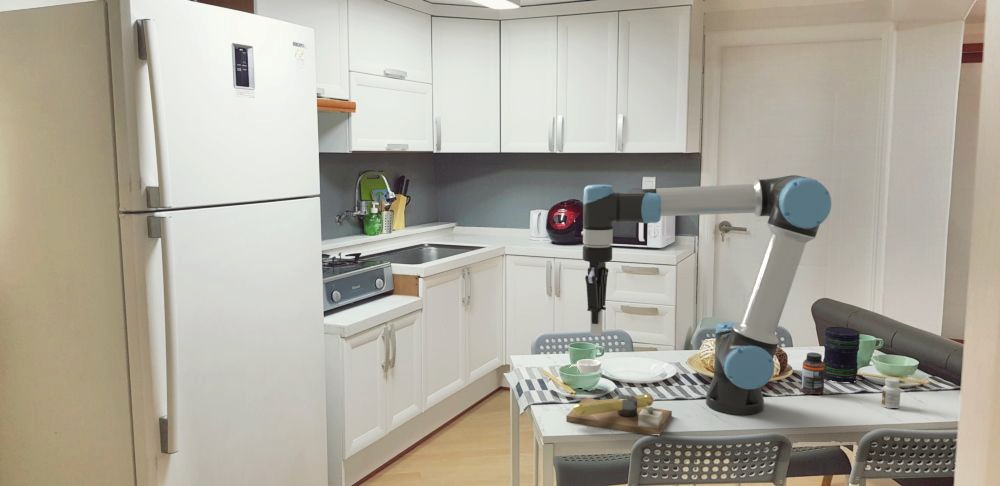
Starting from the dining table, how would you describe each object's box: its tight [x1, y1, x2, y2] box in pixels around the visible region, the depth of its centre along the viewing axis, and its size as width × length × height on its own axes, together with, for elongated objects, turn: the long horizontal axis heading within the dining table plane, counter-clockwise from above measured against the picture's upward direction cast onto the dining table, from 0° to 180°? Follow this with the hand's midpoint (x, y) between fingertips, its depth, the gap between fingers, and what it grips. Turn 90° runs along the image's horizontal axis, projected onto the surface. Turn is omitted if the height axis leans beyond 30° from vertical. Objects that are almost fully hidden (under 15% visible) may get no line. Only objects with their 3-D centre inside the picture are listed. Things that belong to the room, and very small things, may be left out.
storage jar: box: [822, 326, 861, 382], centre depth 235 cm, size 10×10×15 cm
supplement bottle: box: [801, 352, 825, 395], centre depth 223 cm, size 6×6×11 cm
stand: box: [565, 397, 673, 436], centre depth 201 cm, size 24×15×6 cm, turn 66°
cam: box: [572, 393, 654, 417], centre depth 199 cm, size 23×5×4 cm, turn 112°
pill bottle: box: [881, 377, 902, 409], centre depth 211 cm, size 4×4×8 cm
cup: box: [568, 358, 602, 391], centre depth 225 cm, size 7×10×8 cm
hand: (596, 335), depth 201 cm, fingers closed
